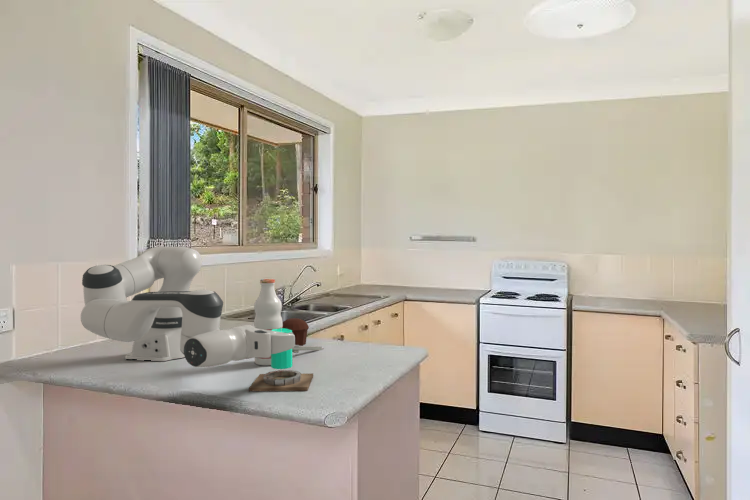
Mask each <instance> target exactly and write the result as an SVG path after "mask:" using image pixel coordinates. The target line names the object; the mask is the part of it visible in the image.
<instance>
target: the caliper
mask: <svg viewBox="0 0 750 500" xmlns="http://www.w3.org/2000/svg"><path fill="white" fill-rule="evenodd" d="M322 350H324V347H322V346H318V345H317V346H314V345H313V346H312V345H311V346H310V345H309V346H308V345H307V346H306V345H305V346H304V345H303V346H299V345H295V346H294V348H292V353H295V354H298V353H300V352H299V351H301V352H302V351H305V352H306V351H310V352H311V351H315V352H316V351H322Z"/></svg>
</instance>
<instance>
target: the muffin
mask: <svg viewBox="0 0 750 500" xmlns="http://www.w3.org/2000/svg"><path fill="white" fill-rule="evenodd" d="M282 322H283V328H285V329H289V330H292V333H293V334H294V335H295V345H299V346H304V345H305V346H306V345H307V336H308V331H309V328H310V326H309V325H308V323H307V322H306V321H305V320H303V319H301V318H297V317H295V318H294V317H292V318H288V319H285V320H284V321H282Z"/></svg>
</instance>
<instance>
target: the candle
mask: <svg viewBox="0 0 750 500" xmlns="http://www.w3.org/2000/svg"><path fill="white" fill-rule="evenodd" d="M277 330H278V331H277ZM271 331H277V332H283V333H289V332H292V330H289V329H285V328H282V325H281V328H279V329H272V330H271ZM270 367H271V369H273V370H274V369H275V370H288V369H290V368H292V367H293V352H292V349H290V350H286V351H283V352H280V353H275V354H271V365H270Z"/></svg>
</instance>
